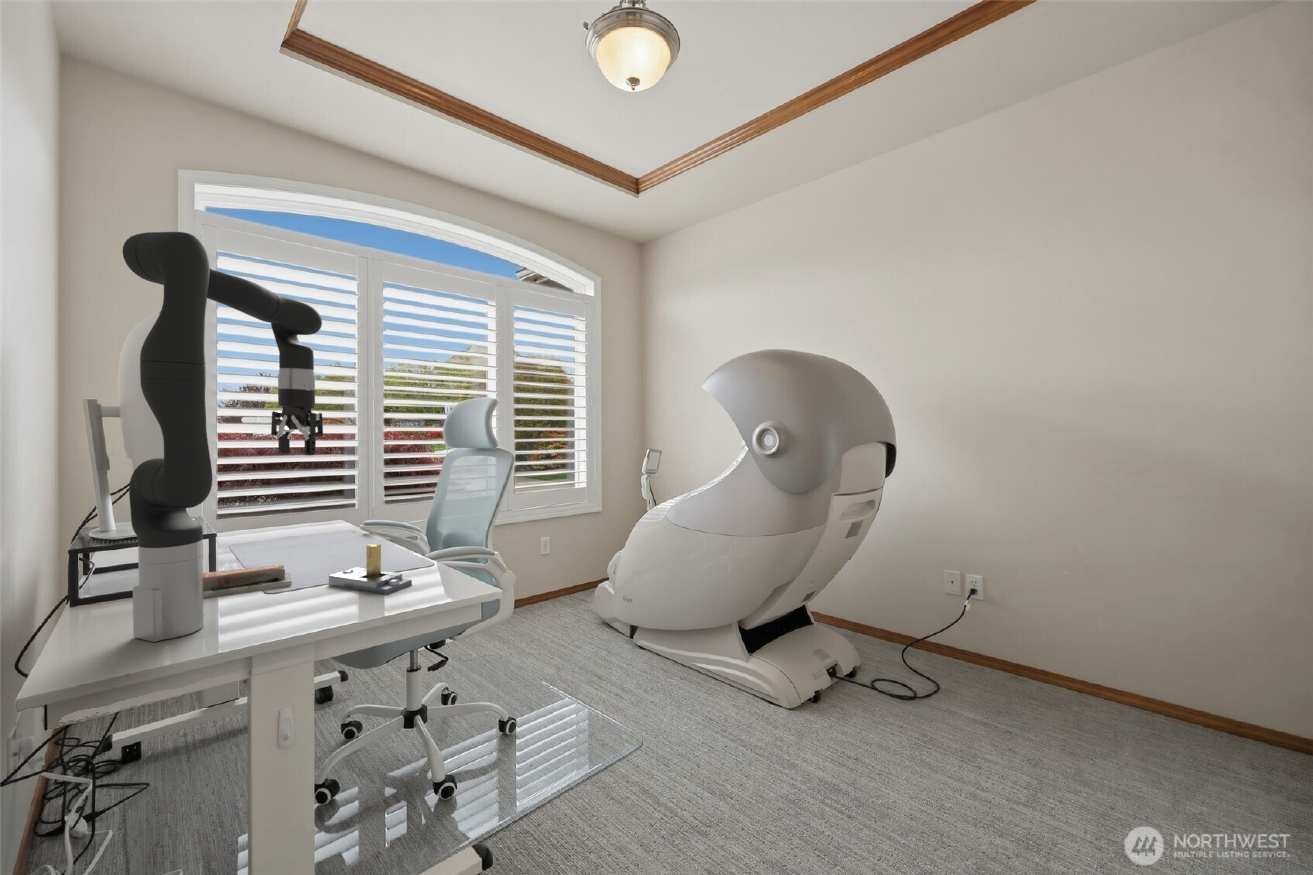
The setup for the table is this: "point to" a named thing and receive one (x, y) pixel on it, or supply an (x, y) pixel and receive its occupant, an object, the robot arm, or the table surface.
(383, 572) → the grey plate with window
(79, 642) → the table surface
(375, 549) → the brass pin
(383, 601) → the table surface
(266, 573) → the packaged product
